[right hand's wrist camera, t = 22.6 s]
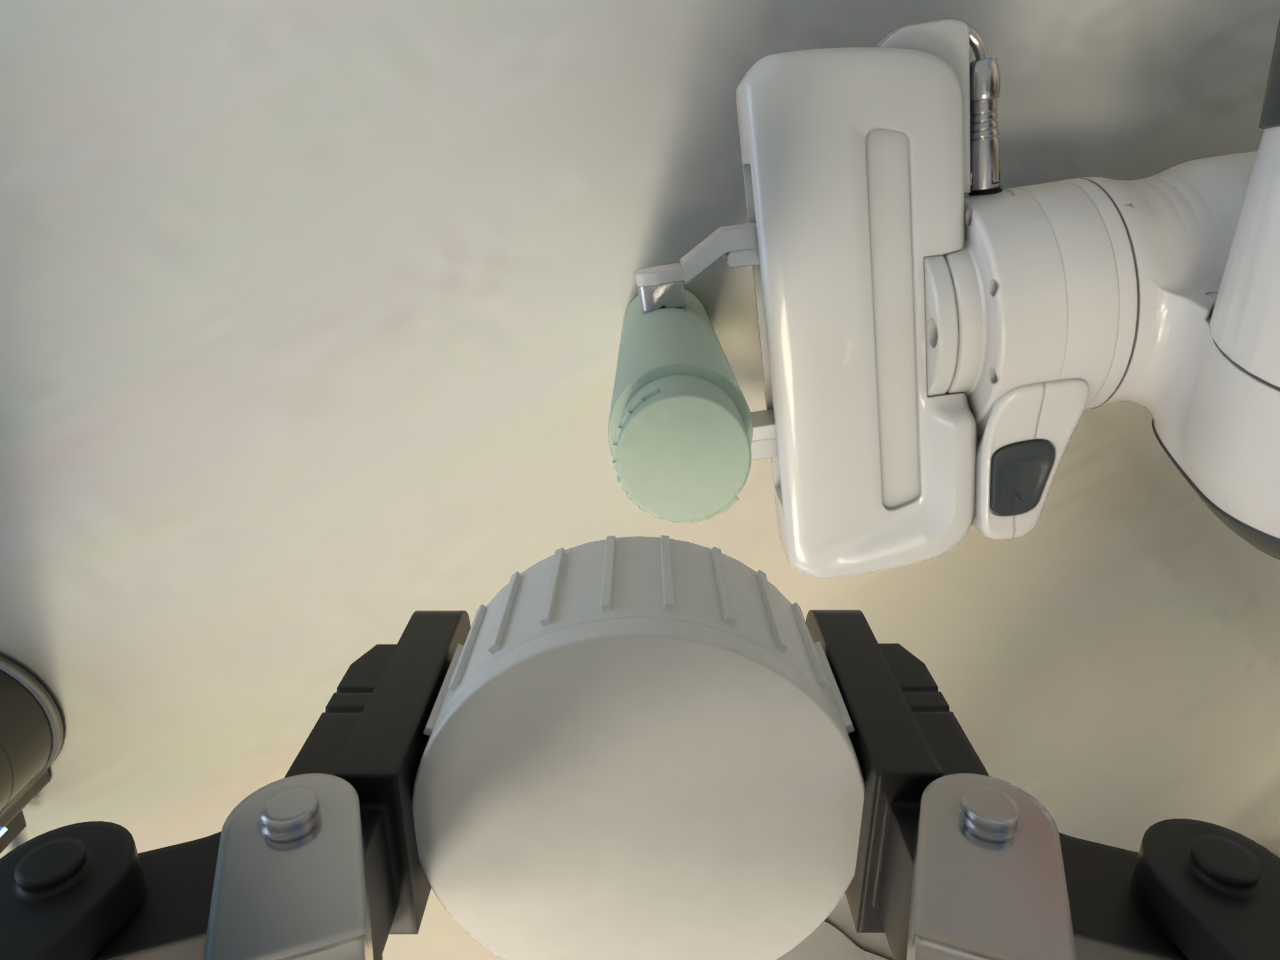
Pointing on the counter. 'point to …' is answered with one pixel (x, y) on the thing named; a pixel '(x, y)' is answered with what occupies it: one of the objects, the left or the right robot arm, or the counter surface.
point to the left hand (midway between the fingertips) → (647, 359)
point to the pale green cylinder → (677, 415)
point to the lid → (639, 764)
